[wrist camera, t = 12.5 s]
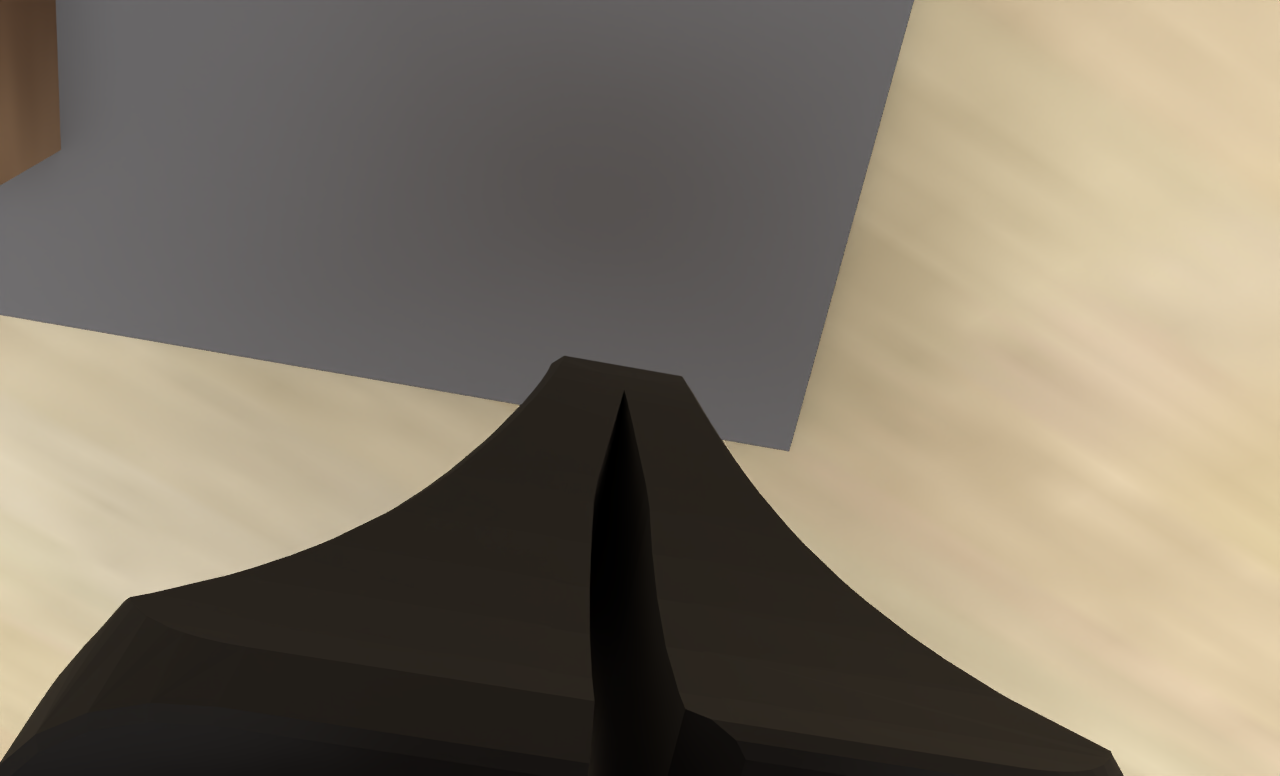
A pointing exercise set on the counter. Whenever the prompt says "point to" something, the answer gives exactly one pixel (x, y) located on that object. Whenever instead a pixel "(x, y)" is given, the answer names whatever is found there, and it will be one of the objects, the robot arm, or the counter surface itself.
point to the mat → (461, 187)
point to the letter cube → (28, 85)
